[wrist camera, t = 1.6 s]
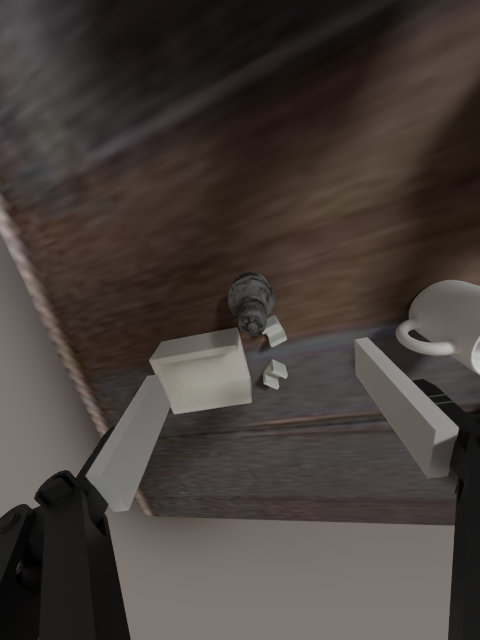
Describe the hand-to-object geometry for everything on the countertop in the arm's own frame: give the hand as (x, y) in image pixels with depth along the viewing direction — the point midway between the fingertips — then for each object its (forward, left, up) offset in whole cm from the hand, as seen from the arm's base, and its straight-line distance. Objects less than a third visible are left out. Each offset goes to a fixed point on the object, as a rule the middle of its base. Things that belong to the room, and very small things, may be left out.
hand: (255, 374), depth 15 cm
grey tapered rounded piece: (0, 0, -18) cm, 18 cm away
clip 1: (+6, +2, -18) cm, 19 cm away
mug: (+8, +23, -18) cm, 30 cm away
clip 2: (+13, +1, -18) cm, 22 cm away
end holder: (+10, -9, -18) cm, 22 cm away
